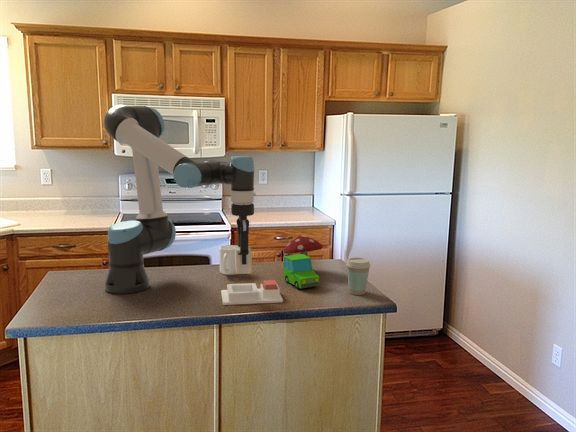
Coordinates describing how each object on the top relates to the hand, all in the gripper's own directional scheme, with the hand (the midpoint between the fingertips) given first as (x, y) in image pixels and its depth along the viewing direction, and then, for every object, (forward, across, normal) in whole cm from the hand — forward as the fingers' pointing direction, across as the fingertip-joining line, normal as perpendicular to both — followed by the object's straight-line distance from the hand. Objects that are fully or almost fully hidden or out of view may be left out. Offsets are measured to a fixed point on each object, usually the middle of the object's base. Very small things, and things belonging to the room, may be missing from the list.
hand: (243, 270), depth 167 cm
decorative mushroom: (+10, +28, -27) cm, 40 cm away
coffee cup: (+10, 0, -41) cm, 42 cm away
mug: (+10, +29, +3) cm, 31 cm away
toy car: (+10, +11, -23) cm, 27 cm away
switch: (+7, 0, -9) cm, 11 cm away
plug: (0, 0, 0) cm, 0 cm away
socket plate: (+10, 0, -3) cm, 10 cm away
